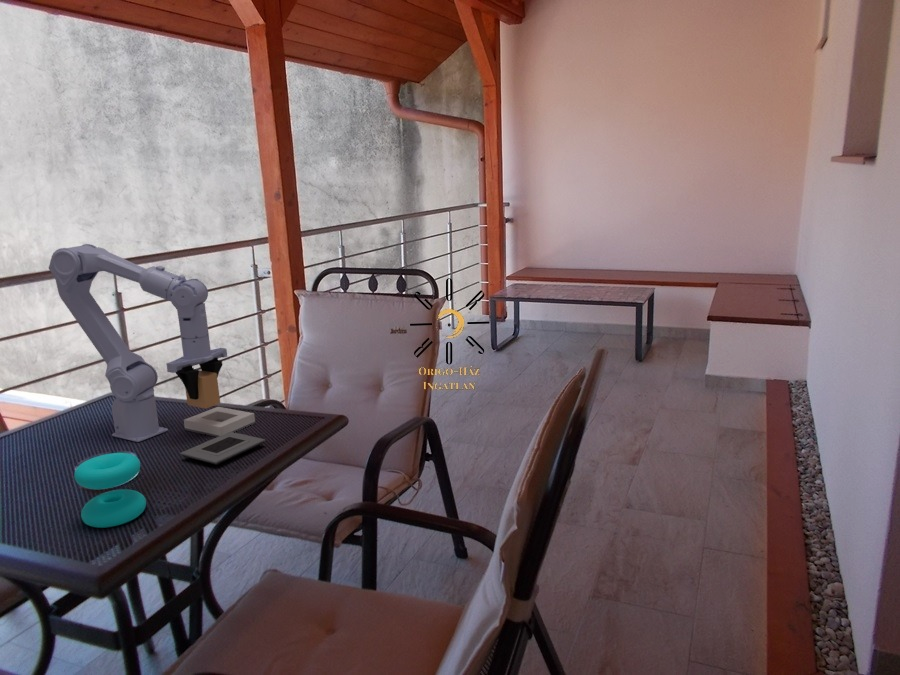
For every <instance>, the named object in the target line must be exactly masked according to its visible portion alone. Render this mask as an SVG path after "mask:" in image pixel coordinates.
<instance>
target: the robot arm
mask: <svg viewBox="0 0 900 675" xmlns="http://www.w3.org/2000/svg"><path fill="white" fill-rule="evenodd" d="M48 270H49V271H50V273H51V274H52V276H53V277H54V280H55V283H56V284H55V285H56V288H57V294H58V296H59V298H60V299H61V301H62V302H63V303H64V305H65V306H66V308H67V309H68V311H69V312H70V313H71V315H72V316H73V318H74V319H75V321H76V322H77V323H78V325H79V326H80V328H81V329H82V331H83V332H84V334H86V337H87V338H88V339H89V341H90V342H91V344H92V345H93V346H94V348H95V349H96V351H97V352H98V354H99V355H100V356H101V357H102V360H103V361H104V362H105V363H106V370H105V375H104V376H105V378H106V379H107V381H108V383H109V388H110V391H111V393H112V394H113V396H114V397H115V399H114V400H113V402H112V406H111V413H112V420H113V425H114V426H113V427H114V431H115V432H114V433H111V436H112V437H115V438H118V439H123V440H128V441H132V442H134V443H135V442H136V443H140V442H143V441H144V440H147V439H150V438H152V437H155V436H157V435H160V434H163V433H165V432H168V431H169V429H168V428H167V427H162V426H160V425H159V418H158V411H157V403H156V398H155V397H156V396H155V388H154V387H155V385H157V382H158V381H159V380H158V378H159V376H158V372H157V370H156V369H155V367H154V366H153V365H151V364H149V363H148V362H147V361H145V359H144V358H143V357H142V356H141V355H139V354H137V353H135V352H132V351H131V350H130V349H129V347H128V345H127V344H126V343H125V341H124V340H123V338H122V337H121V336H120V334H119V333H118V331H117V330H116V328H115V327H114V325H113V324H112V323H111V321H110V319H109V318H108V317H107V315H106V314H105V313H104V311H103V309H102V308H101V307H100V305H99V303H98V302H97V301H96V299H95V297H94V296H93V295H92V293H91V292H90V290H91V287H92V283H93V281H94V280H95V278H96V276H97V275H98V274H99V272H106V273H109V274H112V275H114V276H116V277H117V276H118V277H121V278H123V279H127V280H130V281H132V282H134V283H138V284H139V286H140V288H141V290H142V291H143V292H145V293H147V294H151V295H153V296H156V297H159V298H161V299H163V300H166V301H168V302H170V303H171V304H172V306H173V307H174V308H175V309H176V312H177V318H178V323H179V324H178V325H179V332H180V340H181V348H182V354H183V356H181V357H179V358H176V359H174V360H173V361H170V362H166V370H167V373H172V374H176V375H177V376H178V378H179V380H180V381H181V382H182V385H184V388H186V389H185V391H186V390H187V392H188V395H189V397H190V399H195V400H196V399H198V374H199V369H196V368H195V367H194V366H197V365H199V367H200V370H201V371H207V372H213V373H217V379H218V378H219V377H218V376H219V374H220V371H221V369H222V367H223V361H222V359H221V358H227V357H228V349H227V348H225V347H218V348H214V349H211V342H210V335H209V334H210V332H209V326H208V318H207V311H206V310H207V309H206V303H205V302H206V301H207V299H208V296H209V291H208V288H207V286H206V284H205V283H204V282H202V281H201V280H199V279H198V278H189V279H186V276H185V275H183V274H181V275H176V274H174V273H171V272H170V271H167V270H166V268H165V266H162V265H157V266H150V267H148V268H144V267H143V266H140V265H138V264H136V263H134V262H132V261H129V260H127V259H125V258H123V257H121V256H119V255H116V254H114V253H113V252H109V250H107V249H105V248H103V247H97V246H95V245H94V244H89V243H85V244H82V245H78V246H72V247H61V248H58V249H56V250H55V251H54V252H53V253H52V254H51V258H50V261H49V265H48ZM220 359H221V360H220Z"/></svg>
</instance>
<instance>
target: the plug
mask: <svg viewBox="0 0 900 675" xmlns="http://www.w3.org/2000/svg"><path fill="white" fill-rule="evenodd" d="M198 370H199V369H198ZM218 380H219V379H218V378H217V373H213V372H207V371H202V370H201V369H200V370H199V374H198V399H196V400H195V399H190V397H189V395H188V392H187V390H186V388H185V387H184V388H185V395H186V402H187V406H191V407H195V408H196V407H197V408H201V409H209V408H212V407H214V406H217V405H220V404H221V399H220V398H221V396H220V390H219V382H218Z"/></svg>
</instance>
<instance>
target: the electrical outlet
mask: <svg viewBox="0 0 900 675" xmlns="http://www.w3.org/2000/svg"><path fill="white" fill-rule="evenodd" d="M265 442H266V439H265V438H261V437H256V436H252V435H247V434H243V433H239V432H235V433H234V432H228V433H226V434H224V435H221V436H219V437H214V438H212V439H209V440H207V441H205V442H202V443H201V444H198V445H196V446H194V447H191V448H189V449H186V450H184V451H181V452H180V453H179V455H181V456H182V457H186V458H190V459H193V460H197V461H201V462H204V463H208V464H212V465H216V466H218V465H220V464H221V463H222V464H223V463H224V462H226V461H228V460H230V459H233V458H234V457H236V456H240V455H241V454H243V453H245V452H247V451H249V450H252V449H255V448H257V447H258V446H260V445H262V444H264V443H265Z"/></svg>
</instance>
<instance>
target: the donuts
mask: <svg viewBox="0 0 900 675" xmlns="http://www.w3.org/2000/svg"><path fill="white" fill-rule="evenodd" d="M140 469H141V461H140V459H139V457H137V456H136V455H134V454H132V453H128V452H127V453H126V452H114V453H107V454H101V455H98V456H94V457H92V458H89V459H86V460H85V461H83V462H81V463H80V464H79V465H78V466H77V467H76V469H74V470H75V471H74V473H73V474H74V475H73V476H74V481H75V482H76V483H77V485H79V486H80V487H82V488H86V489H88V490H89V489H90V490H106V489H112V488H115V487H116V488H117V487H118V486H121V485H124V484H126V483H128V482H129V481H131V480H132V479H133V478H135V477H136V476H137V475H138V473H139V472H140ZM146 507H147V500H146V497H145V496H144V495H143V494H142V493H141V492H139V491H137V490H134V489H126V488H124V489H123V488H119V489H113V490H108V491H105V492H102V493H99V494H97V495H96V496H93V497H92V498H91V499H90V500H88V501H87V502H86V503H85V504H84V506H83V507H82V509H81V511H80V512H81V513H80V514H81V515H80V518H81V520H82V522H83V523H84V524H85V525H87V526H90V527H92V528H97V529H98V528H99V529H103V528H113V527H116V526H120V525H124V524H127V523H130V522H131V521H133V520H135V519H136V518H138V517H140V516H141V514H143V512H144V511H145V508H146Z"/></svg>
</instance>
